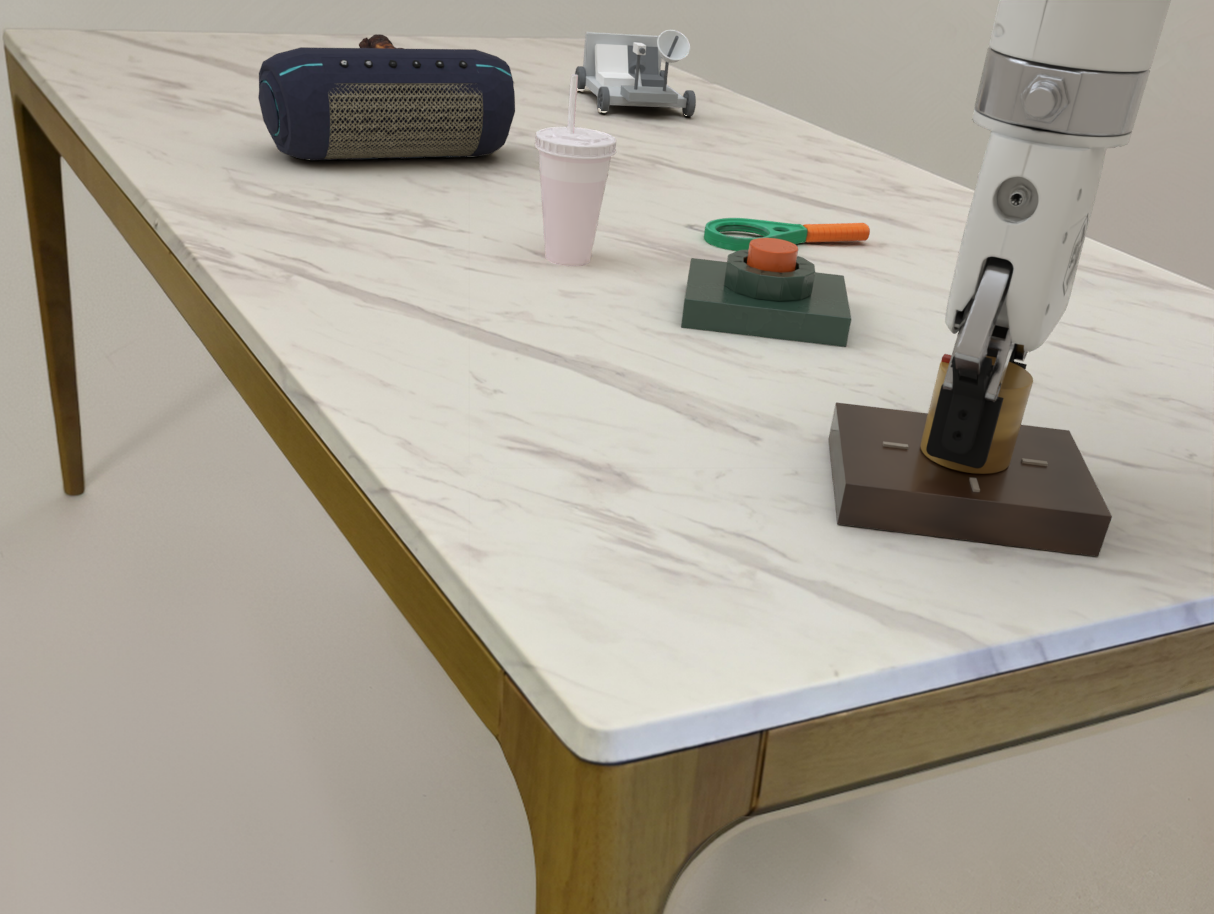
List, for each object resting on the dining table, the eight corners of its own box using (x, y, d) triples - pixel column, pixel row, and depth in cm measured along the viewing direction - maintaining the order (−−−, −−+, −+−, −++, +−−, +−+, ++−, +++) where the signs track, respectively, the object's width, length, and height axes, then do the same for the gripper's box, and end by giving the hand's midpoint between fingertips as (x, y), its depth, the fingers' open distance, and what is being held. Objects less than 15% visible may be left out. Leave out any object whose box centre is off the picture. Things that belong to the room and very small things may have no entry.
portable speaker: (278, 174, 117) (272, 58, 112) (254, 147, 125) (247, 37, 119) (528, 167, 127) (534, 60, 122) (493, 142, 135) (496, 41, 129)
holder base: (1058, 467, 77) (1070, 427, 75) (1098, 557, 68) (1113, 513, 66) (828, 439, 78) (836, 399, 76) (837, 524, 68) (846, 480, 67)
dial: (1017, 450, 72) (1042, 362, 69) (1000, 482, 68) (1025, 391, 66) (932, 427, 74) (953, 341, 71) (910, 458, 70) (931, 368, 67)
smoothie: (560, 241, 107) (571, 64, 99) (622, 260, 104) (638, 79, 97) (512, 257, 102) (520, 72, 95) (576, 277, 99) (589, 88, 92)
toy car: (711, 35, 146) (614, 30, 143) (700, 124, 151) (607, 121, 148) (667, 10, 161) (579, 5, 158) (659, 92, 166) (573, 88, 163)
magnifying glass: (716, 252, 108) (718, 233, 107) (694, 231, 113) (696, 212, 112) (877, 253, 112) (881, 234, 111) (849, 232, 117) (853, 214, 116)
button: (794, 263, 95) (798, 240, 94) (795, 278, 92) (799, 254, 91) (746, 258, 95) (749, 235, 95) (746, 273, 92) (749, 249, 91)
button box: (838, 302, 100) (848, 252, 98) (845, 347, 91) (856, 293, 89) (687, 284, 100) (693, 234, 98) (680, 328, 92) (687, 274, 90)
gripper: (1109, 142, 53) (1000, 521, 63) (1159, 89, 66) (1063, 409, 76) (935, 110, 56) (856, 479, 66) (1017, 65, 69) (941, 378, 79)
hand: (968, 438), depth 71 cm, fingers closed on dial, 5 cm apart
